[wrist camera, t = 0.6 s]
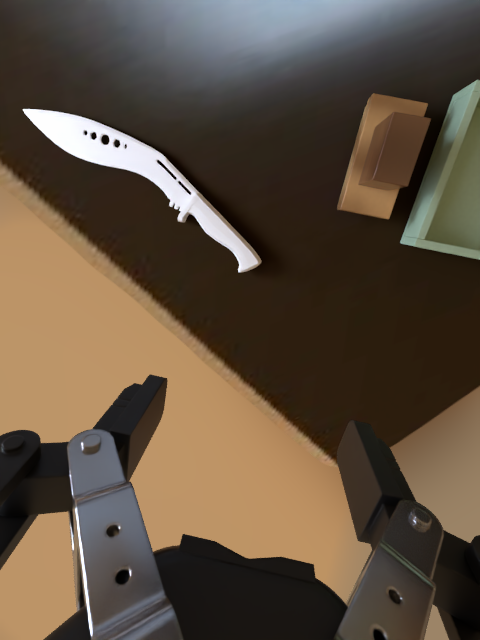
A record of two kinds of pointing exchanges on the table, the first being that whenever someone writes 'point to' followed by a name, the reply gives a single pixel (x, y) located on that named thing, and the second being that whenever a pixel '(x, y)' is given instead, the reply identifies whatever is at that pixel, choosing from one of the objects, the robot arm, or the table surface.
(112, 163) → the knife
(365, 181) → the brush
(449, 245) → the tray
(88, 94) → the table surface
